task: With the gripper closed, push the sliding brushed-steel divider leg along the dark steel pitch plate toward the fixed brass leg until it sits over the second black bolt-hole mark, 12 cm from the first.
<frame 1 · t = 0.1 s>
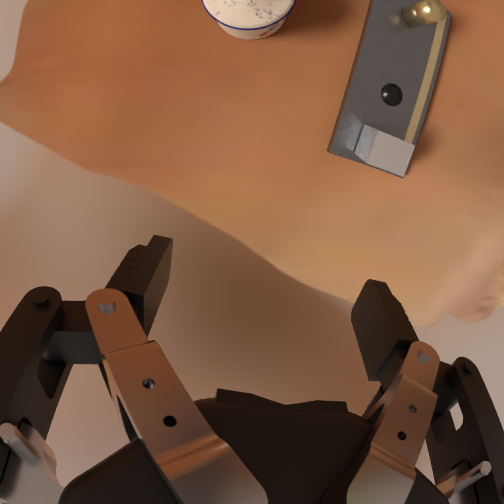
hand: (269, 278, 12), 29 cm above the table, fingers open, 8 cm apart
sliding leg: (383, 149, 33), point 4 cm above the table, slide at 7.0 cm
teacup with lid: (255, 0, 28), on the table
pitch plate: (393, 74, 32), on the table
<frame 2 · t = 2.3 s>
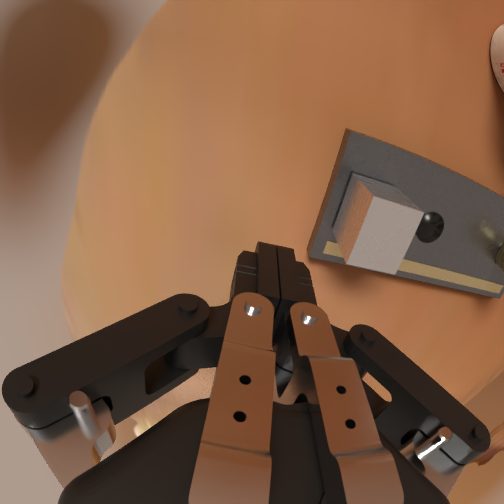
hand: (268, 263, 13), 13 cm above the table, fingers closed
sliding leg: (374, 222, 21), point 4 cm above the table, slide at 7.0 cm
pitch plate: (445, 228, 26), on the table
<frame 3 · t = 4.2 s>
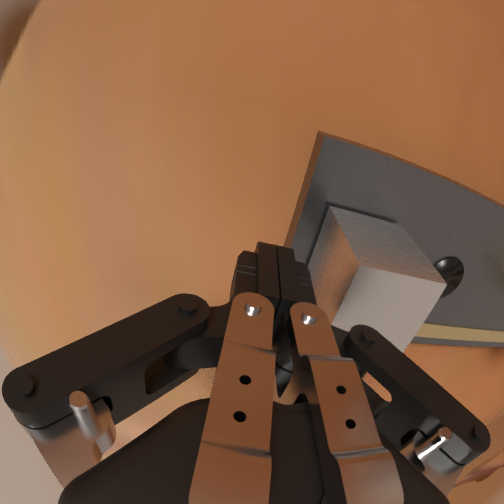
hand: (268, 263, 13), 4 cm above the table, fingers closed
sliding leg: (362, 289, 13), point 4 cm above the table, slide at 6.9 cm, touching gripper
pitch plate: (463, 272, 18), on the table
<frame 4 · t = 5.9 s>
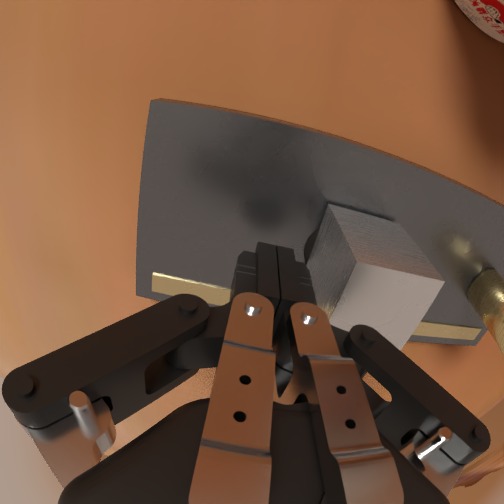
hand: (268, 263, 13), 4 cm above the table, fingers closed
sliding leg: (360, 286, 13), point 4 cm above the table, slide at -0.8 cm, touching gripper
pitch plate: (373, 248, 17), on the table
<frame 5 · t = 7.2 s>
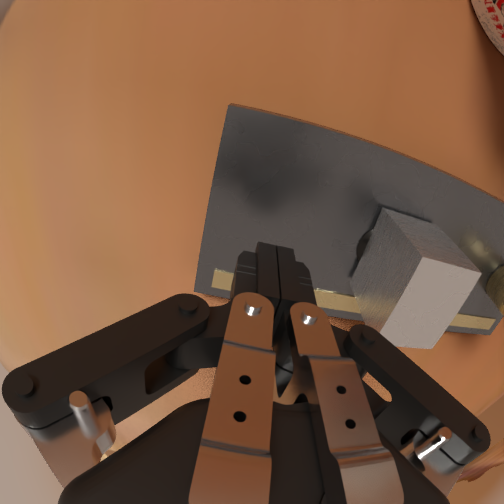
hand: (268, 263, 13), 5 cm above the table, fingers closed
sliding leg: (410, 279, 15), point 4 cm above the table, slide at -0.9 cm
pitch plate: (410, 246, 19), on the table
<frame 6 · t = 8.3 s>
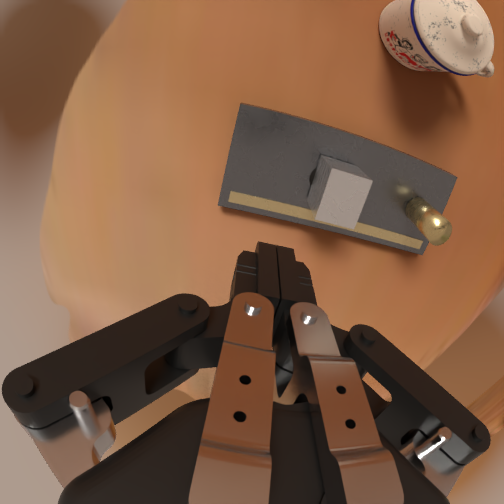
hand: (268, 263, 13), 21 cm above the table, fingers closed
sliding leg: (337, 190, 29), point 4 cm above the table, slide at -0.9 cm
teacup with lid: (422, 42, 24), on the table
pitch plate: (345, 182, 33), on the table
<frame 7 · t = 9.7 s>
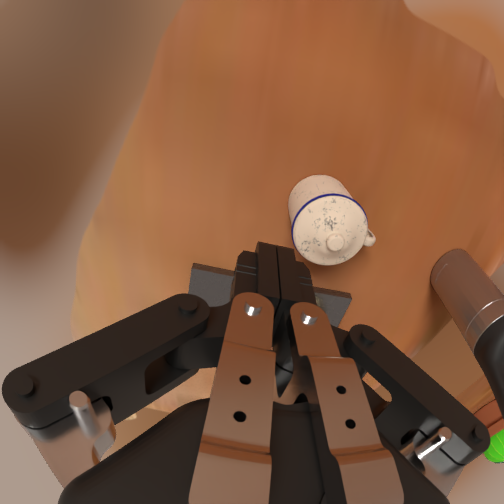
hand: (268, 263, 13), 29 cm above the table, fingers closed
teacup with lid: (327, 206, 43), on the table
potted cactus: (487, 410, 80), on the table
pitch plate: (266, 305, 52), on the table
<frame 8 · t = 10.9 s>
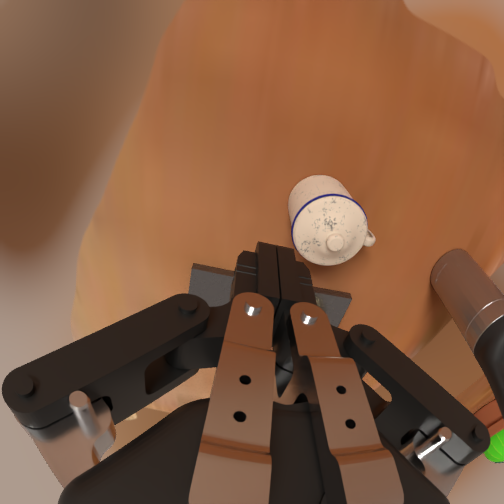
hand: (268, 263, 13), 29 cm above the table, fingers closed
teacup with lid: (327, 206, 43), on the table
potted cactus: (487, 409, 80), on the table
pitch plate: (266, 305, 52), on the table
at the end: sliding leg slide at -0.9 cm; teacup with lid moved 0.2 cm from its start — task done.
